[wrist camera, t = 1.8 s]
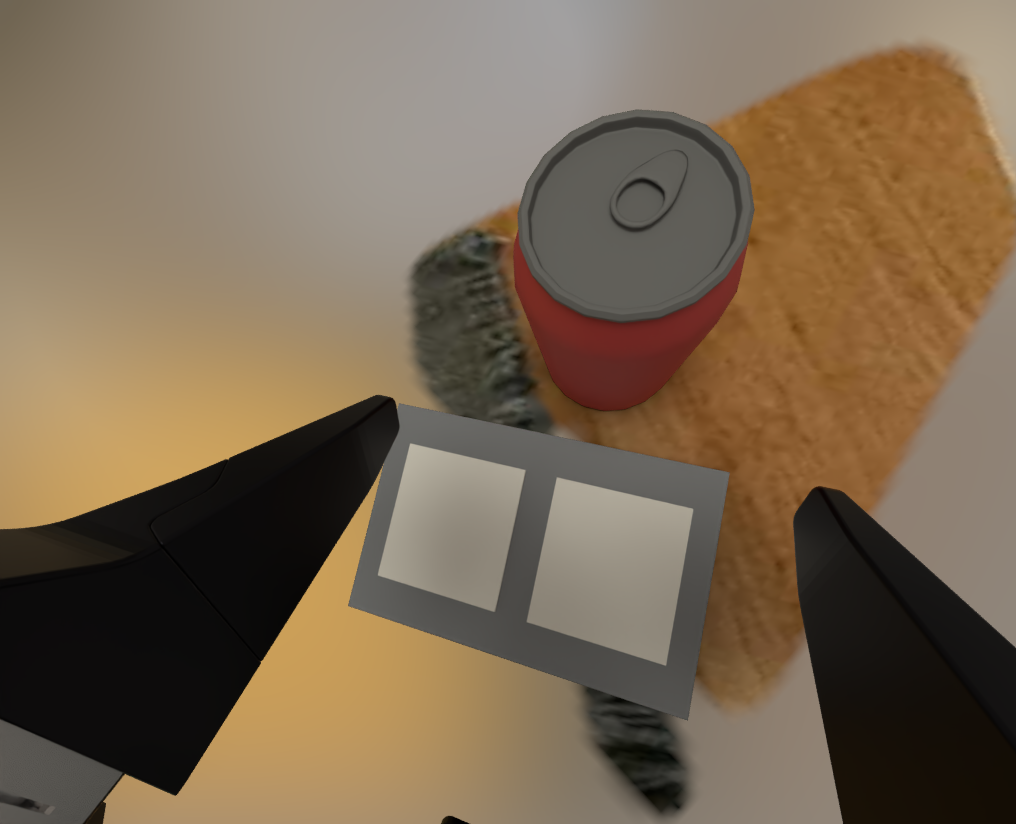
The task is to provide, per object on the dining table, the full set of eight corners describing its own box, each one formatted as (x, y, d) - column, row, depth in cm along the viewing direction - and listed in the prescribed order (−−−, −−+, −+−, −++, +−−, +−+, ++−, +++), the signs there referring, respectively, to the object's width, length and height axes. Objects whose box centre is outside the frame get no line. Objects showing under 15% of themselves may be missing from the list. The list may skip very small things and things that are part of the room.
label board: (684, 712, 19) (688, 723, 18) (354, 602, 22) (345, 607, 22) (725, 472, 20) (730, 472, 19) (403, 405, 23) (397, 402, 23)
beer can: (703, 340, 21) (848, 174, 9) (616, 439, 21) (648, 398, 9) (600, 267, 22) (613, 45, 11) (520, 359, 23) (446, 238, 11)
